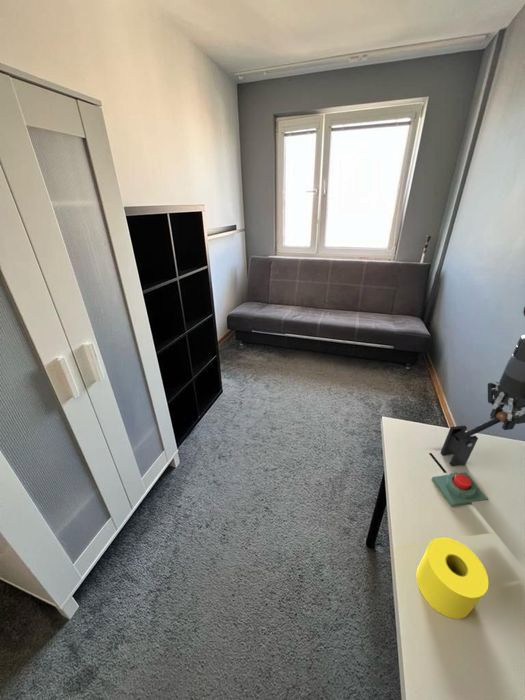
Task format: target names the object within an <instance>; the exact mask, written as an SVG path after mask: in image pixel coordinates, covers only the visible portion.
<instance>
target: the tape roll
mask: <svg viewBox="0 0 525 700" xmlns="http://www.w3.org/2000/svg"><path fill="white" fill-rule="evenodd" d="M415 574H416V575H415V576H416V577H415V578H416V583H417V584H416V585H417V586H418V589H419V590H420V593H421V595H422V596H423V598H424V599H425V601H426V602H427V603H428V604H429V606H431V608H433V609H434V610H435V611H436V612H437V613H439V614H441V615H443V616H445V617H446V618H449V619H454V620H461V619H464V618H465V617H467V616H468V615H469V614H470V613H471V611H472V610H473V609H474V608H475V607H476V605H477V604H478V603H479V601H480V600H481V599H482V597H483V596H484V595H486V593H487V591H488V588H489V575H488V573H487V570H486V568H485V566H484V564H483V562H482V561H481V560H480V558H479V557H478V556H477V554H476V553H474V552H473V550H471V548H469V547H467V546H466V545H464V544H463V543H462V542H460V541H458V540H456V539H453V538H450V537H446V536H445V537H443V536H441V537H436V538H433V539H432V540H431V541H430V542H429V544H428V546H427V548H426V550H425V552H424V554H423V557H422V558H421V560H420V562H419V564H418V566H417V569H416V572H415Z"/></svg>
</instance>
